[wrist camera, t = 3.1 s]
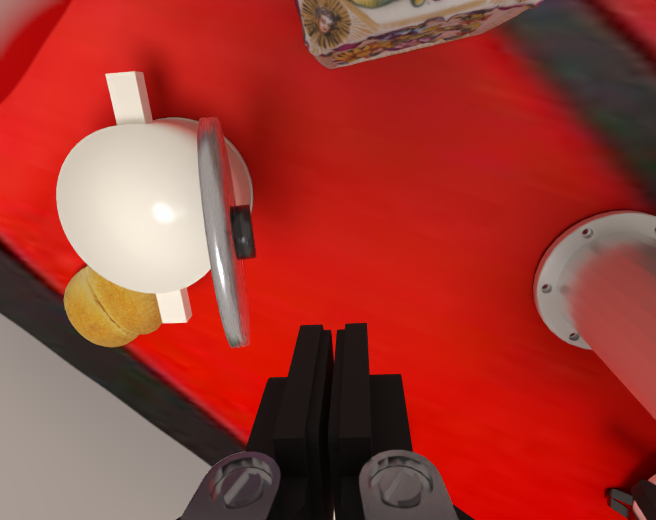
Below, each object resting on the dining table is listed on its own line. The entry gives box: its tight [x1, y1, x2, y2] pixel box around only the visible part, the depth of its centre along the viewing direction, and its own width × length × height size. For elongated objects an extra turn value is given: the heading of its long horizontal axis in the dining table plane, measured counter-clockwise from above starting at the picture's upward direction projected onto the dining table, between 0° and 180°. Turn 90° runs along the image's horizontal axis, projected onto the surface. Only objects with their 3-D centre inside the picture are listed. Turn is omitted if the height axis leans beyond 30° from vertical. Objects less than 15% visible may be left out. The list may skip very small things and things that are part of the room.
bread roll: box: [64, 265, 162, 347], centre depth 41 cm, size 8×9×4 cm
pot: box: [56, 71, 254, 323], centre depth 35 cm, size 12×18×8 cm, turn 4°
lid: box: [197, 117, 256, 348], centre depth 25 cm, size 12×12×2 cm
